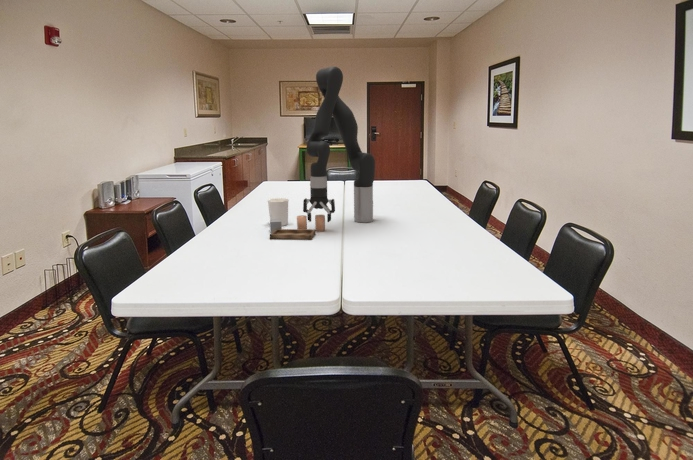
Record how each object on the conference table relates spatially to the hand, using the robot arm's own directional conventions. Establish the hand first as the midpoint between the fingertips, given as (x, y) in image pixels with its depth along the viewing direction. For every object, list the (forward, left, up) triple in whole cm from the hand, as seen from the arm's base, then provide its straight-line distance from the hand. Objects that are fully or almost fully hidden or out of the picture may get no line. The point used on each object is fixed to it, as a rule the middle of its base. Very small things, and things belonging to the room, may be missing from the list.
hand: (319, 221), depth 216 cm
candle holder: (+22, -11, -4) cm, 25 cm away
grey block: (+20, +3, -4) cm, 20 cm away
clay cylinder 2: (0, 0, -4) cm, 4 cm away
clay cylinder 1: (+8, +2, -4) cm, 9 cm away
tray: (+10, +12, -4) cm, 16 cm away
